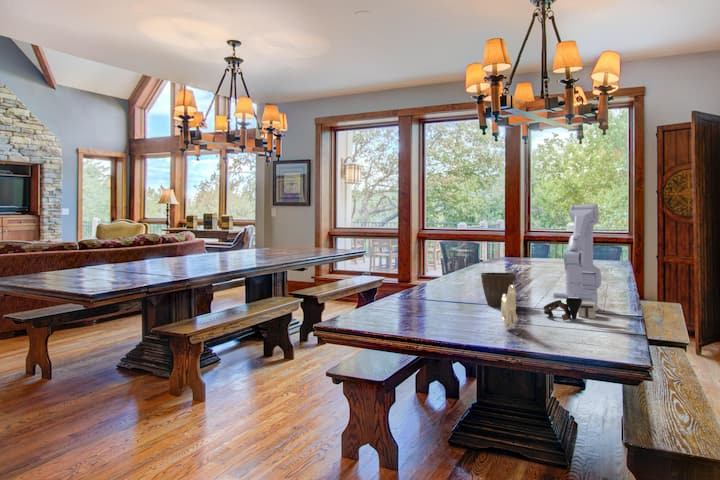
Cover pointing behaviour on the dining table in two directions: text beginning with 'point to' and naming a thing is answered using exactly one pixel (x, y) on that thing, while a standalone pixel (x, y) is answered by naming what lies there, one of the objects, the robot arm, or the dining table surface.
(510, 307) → the unicorn
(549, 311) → the brown curved wooden piece
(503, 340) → the dining table surface
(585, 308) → the letter cube
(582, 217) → the robot arm
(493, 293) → the plant pot
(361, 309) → the dining table surface
